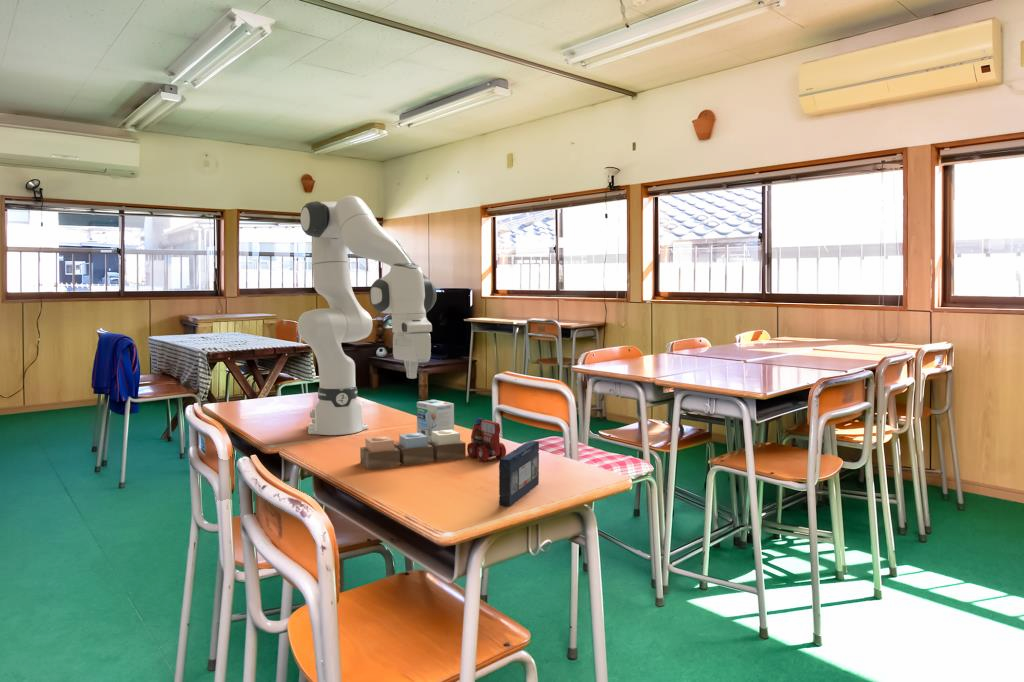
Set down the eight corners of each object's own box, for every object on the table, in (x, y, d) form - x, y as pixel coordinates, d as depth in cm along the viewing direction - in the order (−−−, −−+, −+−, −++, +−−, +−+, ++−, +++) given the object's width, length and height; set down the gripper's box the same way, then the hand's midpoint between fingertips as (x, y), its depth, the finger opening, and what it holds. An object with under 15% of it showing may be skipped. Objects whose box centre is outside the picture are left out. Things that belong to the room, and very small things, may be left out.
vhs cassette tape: (509, 507, 139) (509, 459, 138) (496, 506, 140) (496, 458, 140) (541, 484, 156) (541, 441, 155) (529, 483, 157) (529, 440, 156)
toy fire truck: (484, 451, 188) (484, 414, 188) (509, 460, 178) (509, 421, 177) (462, 455, 185) (462, 416, 184) (487, 464, 174) (486, 424, 174)
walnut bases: (360, 462, 176) (360, 447, 176) (454, 451, 188) (454, 437, 188) (368, 469, 169) (368, 453, 169) (465, 457, 181) (465, 442, 181)
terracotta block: (365, 453, 176) (365, 437, 175) (387, 451, 178) (387, 434, 178) (371, 458, 170) (371, 441, 170) (394, 455, 173) (393, 439, 173)
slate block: (399, 449, 180) (399, 433, 179) (420, 447, 182) (420, 431, 182) (406, 454, 175) (406, 437, 174) (427, 451, 177) (427, 435, 177)
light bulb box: (416, 436, 208) (415, 401, 208) (434, 433, 213) (433, 399, 212) (437, 442, 200) (436, 405, 200) (455, 438, 205) (454, 403, 204)
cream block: (431, 446, 184) (431, 430, 183) (451, 443, 186) (451, 428, 186) (439, 450, 179) (439, 434, 178) (460, 448, 181) (459, 432, 181)
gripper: (386, 325, 185) (388, 376, 186) (410, 325, 167) (412, 382, 168) (408, 324, 188) (410, 374, 189) (434, 324, 170) (436, 379, 171)
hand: (411, 378), depth 178 cm, fingers closed
